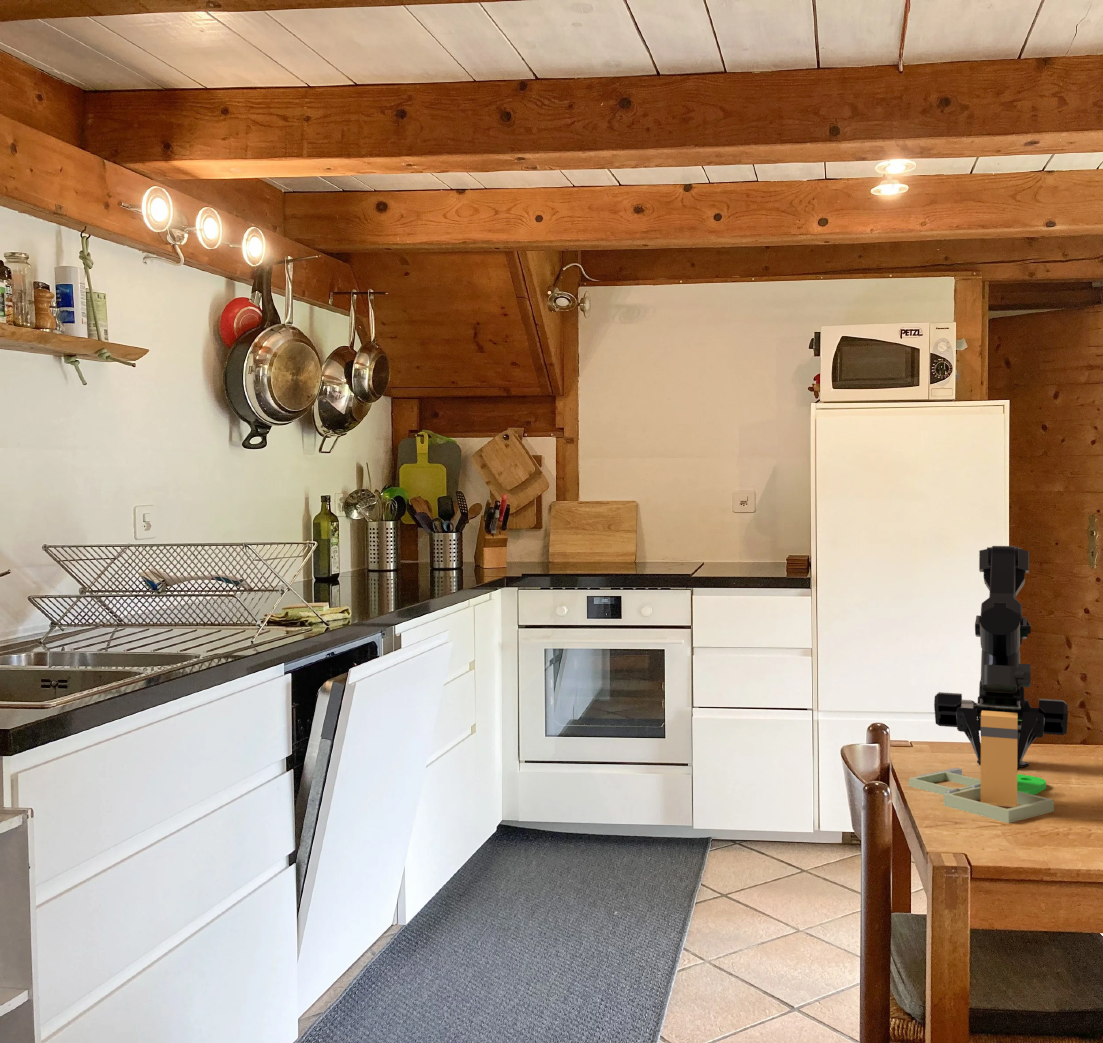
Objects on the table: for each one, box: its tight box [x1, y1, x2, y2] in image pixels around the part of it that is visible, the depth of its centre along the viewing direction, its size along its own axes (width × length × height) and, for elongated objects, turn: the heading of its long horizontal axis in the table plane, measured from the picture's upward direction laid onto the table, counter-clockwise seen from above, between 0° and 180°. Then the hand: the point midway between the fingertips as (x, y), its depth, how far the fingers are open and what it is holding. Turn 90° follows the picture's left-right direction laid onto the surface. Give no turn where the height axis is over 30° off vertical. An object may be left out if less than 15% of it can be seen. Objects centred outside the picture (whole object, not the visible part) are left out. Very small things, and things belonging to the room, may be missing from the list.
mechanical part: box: [1017, 773, 1047, 796], centre depth 173 cm, size 12×6×8 cm, turn 138°
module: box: [980, 711, 1018, 807], centre depth 161 cm, size 4×5×13 cm
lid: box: [908, 771, 981, 796], centre depth 174 cm, size 9×9×2 cm
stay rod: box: [917, 767, 963, 777], centre depth 183 cm, size 10×1×1 cm, turn 123°
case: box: [943, 784, 1055, 824], centre depth 162 cm, size 11×12×3 cm
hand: (998, 760), depth 160 cm, fingers closed on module, 5 cm apart
